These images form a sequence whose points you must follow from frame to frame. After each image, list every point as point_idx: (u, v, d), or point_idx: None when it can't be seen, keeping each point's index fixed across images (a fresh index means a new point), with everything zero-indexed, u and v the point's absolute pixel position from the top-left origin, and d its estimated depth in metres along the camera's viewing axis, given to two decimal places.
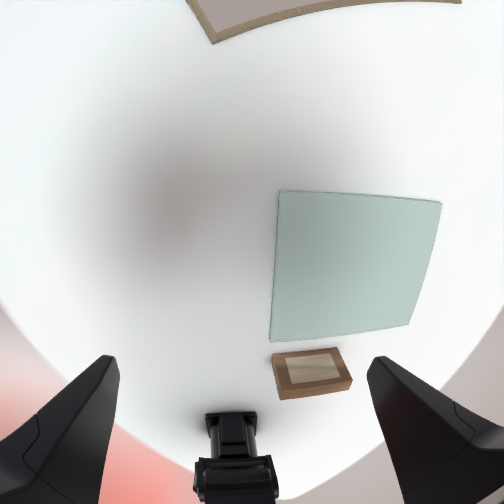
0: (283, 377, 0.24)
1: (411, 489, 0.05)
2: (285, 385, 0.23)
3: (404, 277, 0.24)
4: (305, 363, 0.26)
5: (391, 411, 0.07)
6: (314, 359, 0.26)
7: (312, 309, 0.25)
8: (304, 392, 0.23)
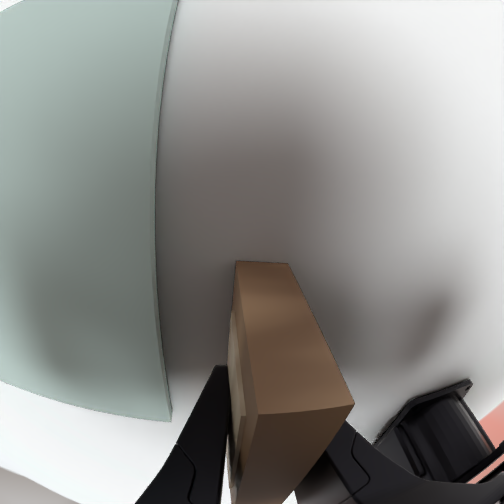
0: None
1: None
2: (231, 496, 0.06)
3: None
4: None
5: None
6: None
7: (69, 354, 0.08)
8: (262, 496, 0.05)
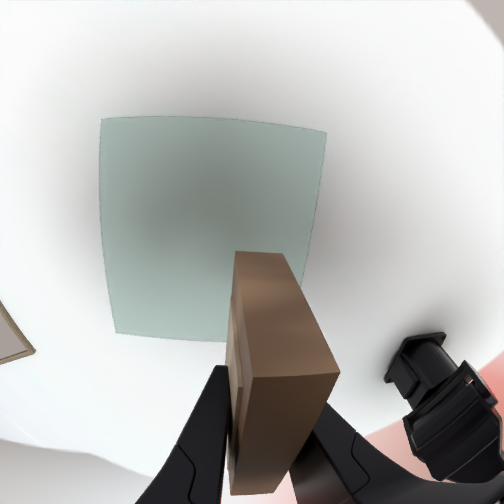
0: None
1: None
2: (229, 478, 0.07)
3: (217, 166, 0.16)
4: None
5: None
6: (227, 357, 0.08)
7: None
8: (259, 475, 0.06)
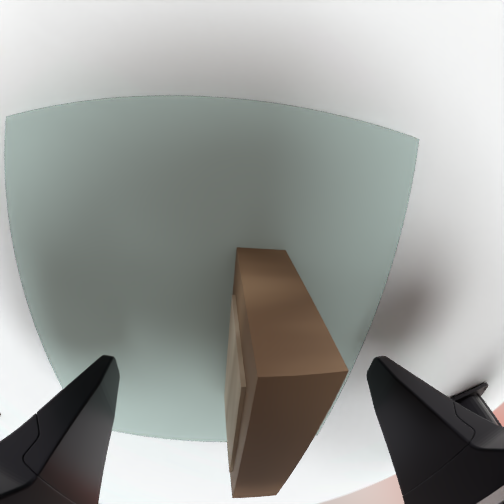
0: None
1: (411, 489, 0.05)
2: (231, 480, 0.07)
3: (214, 200, 0.08)
4: (227, 386, 0.08)
5: (391, 411, 0.07)
6: (228, 357, 0.08)
7: None
8: (262, 478, 0.06)
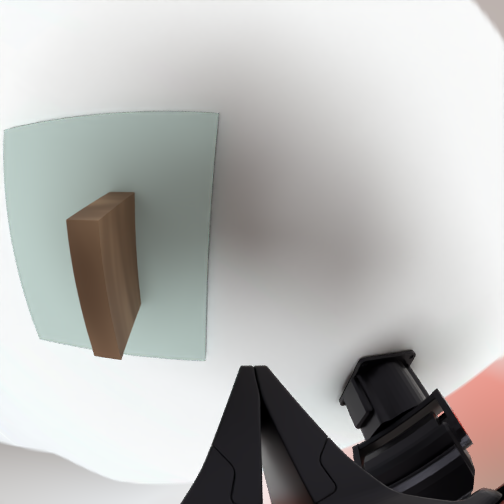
0: None
1: None
2: None
3: (97, 167, 0.13)
4: None
5: (261, 432, 0.07)
6: None
7: (151, 318, 0.17)
8: (97, 322, 0.11)
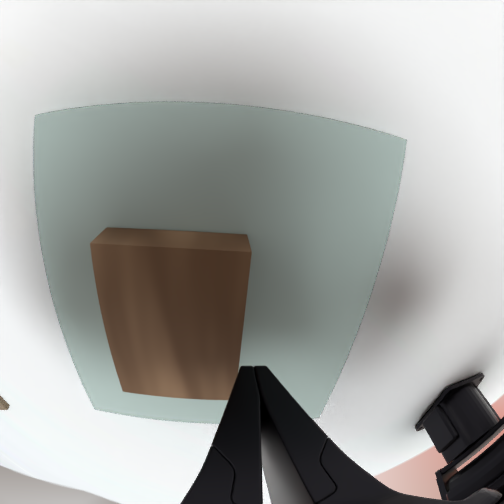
0: None
1: None
2: None
3: (229, 193, 0.09)
4: None
5: (261, 432, 0.07)
6: None
7: None
8: None
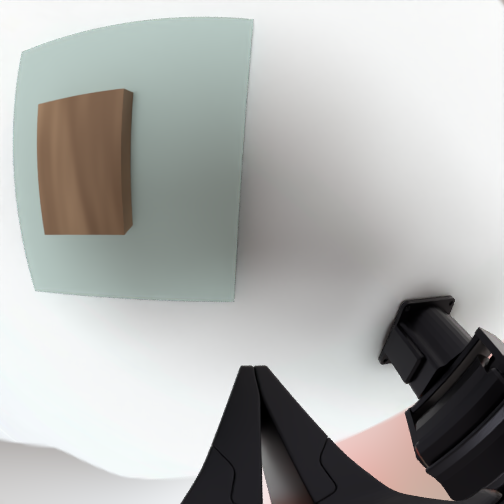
0: None
1: None
2: None
3: (123, 69, 0.11)
4: None
5: (261, 432, 0.07)
6: None
7: (170, 243, 0.15)
8: None
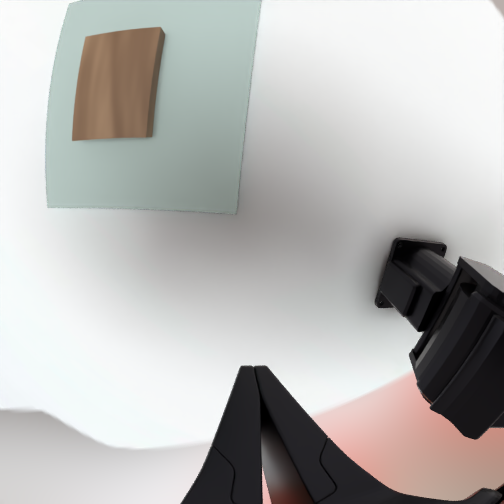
0: None
1: None
2: None
3: (158, 18, 0.12)
4: None
5: (261, 432, 0.07)
6: None
7: (183, 154, 0.16)
8: None
